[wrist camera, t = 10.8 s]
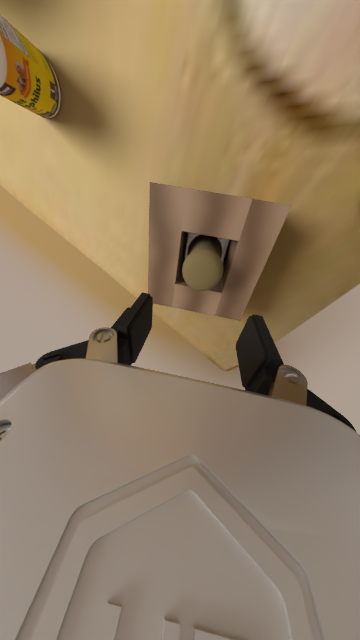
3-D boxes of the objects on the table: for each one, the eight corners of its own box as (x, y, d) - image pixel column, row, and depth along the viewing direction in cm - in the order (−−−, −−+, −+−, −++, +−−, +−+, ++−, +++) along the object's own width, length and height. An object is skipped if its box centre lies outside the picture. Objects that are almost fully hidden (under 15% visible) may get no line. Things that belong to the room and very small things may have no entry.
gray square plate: (230, 233, 27) (230, 234, 26) (218, 273, 31) (218, 275, 30) (189, 226, 27) (189, 227, 26) (183, 266, 31) (183, 268, 30)
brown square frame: (270, 204, 24) (291, 205, 18) (234, 298, 34) (239, 320, 27) (165, 187, 25) (149, 182, 18) (159, 283, 34) (147, 302, 28)
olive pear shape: (220, 270, 30) (223, 299, 21) (187, 269, 30) (177, 296, 22) (225, 233, 26) (232, 249, 17) (187, 233, 27) (176, 248, 18)
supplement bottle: (47, 130, 23) (-42, 91, 15) (11, 72, 21) (-121, -13, 12) (72, 100, 21) (-16, 36, 13) (36, 32, 19) (-102, -103, 10)
